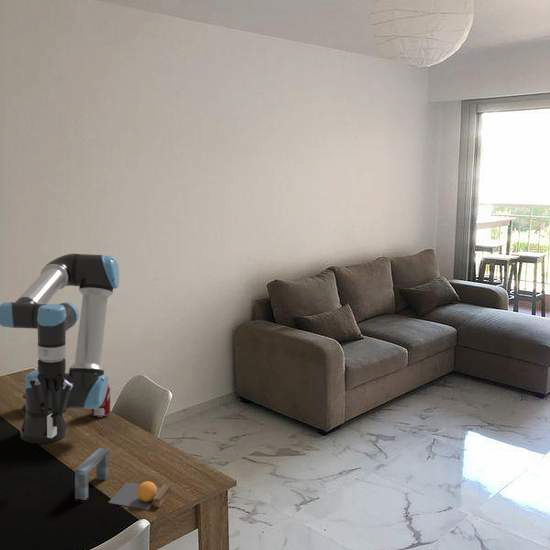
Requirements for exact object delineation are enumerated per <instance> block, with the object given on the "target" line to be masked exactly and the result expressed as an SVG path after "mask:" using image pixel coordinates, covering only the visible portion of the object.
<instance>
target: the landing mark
mask: <svg viewBox="0 0 550 550" xmlns="http://www.w3.org/2000/svg"><path fill="white" fill-rule="evenodd" d="M141 484H142V483H135V482H134V483H133V482H128V481H127V482H126V483H125V484H123V486H122V487H121V488H120V489H119V490H118V491H117V492H116V493H115V494H114V496H113V497H112V498H111V499H110V500H109V501H108V502H107V503H108V504H112V505H116V506H121V507H122V506H124V507H128V508H135V509H140V510H146V511H149V510H150V509H151V507H153V500H151V501H149V502H144V501H142V500H140V498H139V497H138V494H137V491H138V487H139V486H140V485H141ZM156 487H157V493H158V491H159V490H160V489H161V488H162V487H158V486H156Z"/></svg>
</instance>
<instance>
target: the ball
mask: <svg viewBox="0 0 550 550" xmlns="http://www.w3.org/2000/svg"><path fill="white" fill-rule="evenodd" d="M140 484H141V485H140V486H139V487H138V491H137V494H138V497H139V498H140V500H142V501H144V502H149V501H151V500H153V498H154V497H155V495H156V494H157V487H158V486H157V485H156V484H155V483H153V482H152V481H149V480H148V481H144V482H142V483H140Z"/></svg>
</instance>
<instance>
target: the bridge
mask: <svg viewBox="0 0 550 550" xmlns="http://www.w3.org/2000/svg"><path fill="white" fill-rule="evenodd" d="M109 465H110V449H109V448H103V447H99V448H97V449H96V450H95V451H94V452H93V453H92V454H91V455H90V456H89V457H87V458H86V459H85V460H84V461H83V462H82V463H81V464H79V466H77V467H76V468H75V470H74V489H75V490H74V500H75V499H81V500H86V499H87V498H88V499H89V475H90V474H89V472H90V471H91V470H92V469H93V468H95V466H96V477H95V478H96V480H98V481H99V480H100V481H108V479H109V478H110V477H109V474H110V473H109V469H110V468H109ZM88 499H87V500H88ZM87 500H86V501H87Z"/></svg>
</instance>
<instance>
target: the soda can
mask: <svg viewBox="0 0 550 550" xmlns="http://www.w3.org/2000/svg"><path fill="white" fill-rule="evenodd" d="M110 413H111V387H110V384H109V383H108V388H107V393H106V396H105V399H104V401H103V403H102V405H101V406H100V407H99V408H96V409H91V415H92V416H94V417H95V416H97V417H96V418H104V417H103V416H105V417H107V416H109V415H110Z"/></svg>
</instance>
